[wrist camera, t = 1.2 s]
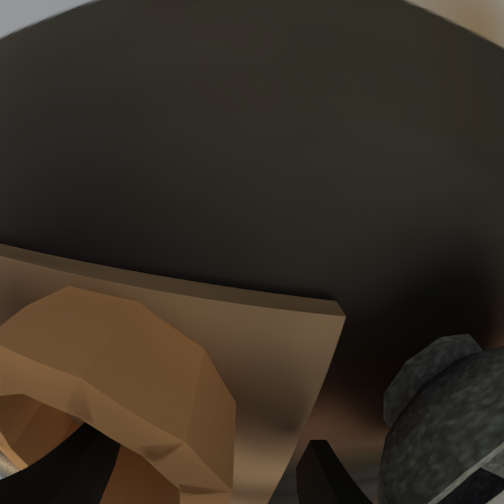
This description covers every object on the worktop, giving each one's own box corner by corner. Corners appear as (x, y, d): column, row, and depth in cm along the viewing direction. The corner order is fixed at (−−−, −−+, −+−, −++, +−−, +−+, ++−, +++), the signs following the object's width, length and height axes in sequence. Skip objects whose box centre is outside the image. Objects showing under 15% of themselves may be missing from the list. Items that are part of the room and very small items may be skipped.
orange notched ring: (220, 480, 12) (216, 543, 8) (46, 432, 11) (19, 480, 7) (251, 319, 9) (254, 413, 5) (0, 267, 9) (-67, 307, 5)
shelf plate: (246, 528, 16) (246, 572, 12) (63, 486, 15) (47, 523, 11) (336, 301, 10) (386, 384, 6) (-21, 238, 9) (-91, 269, 5)
